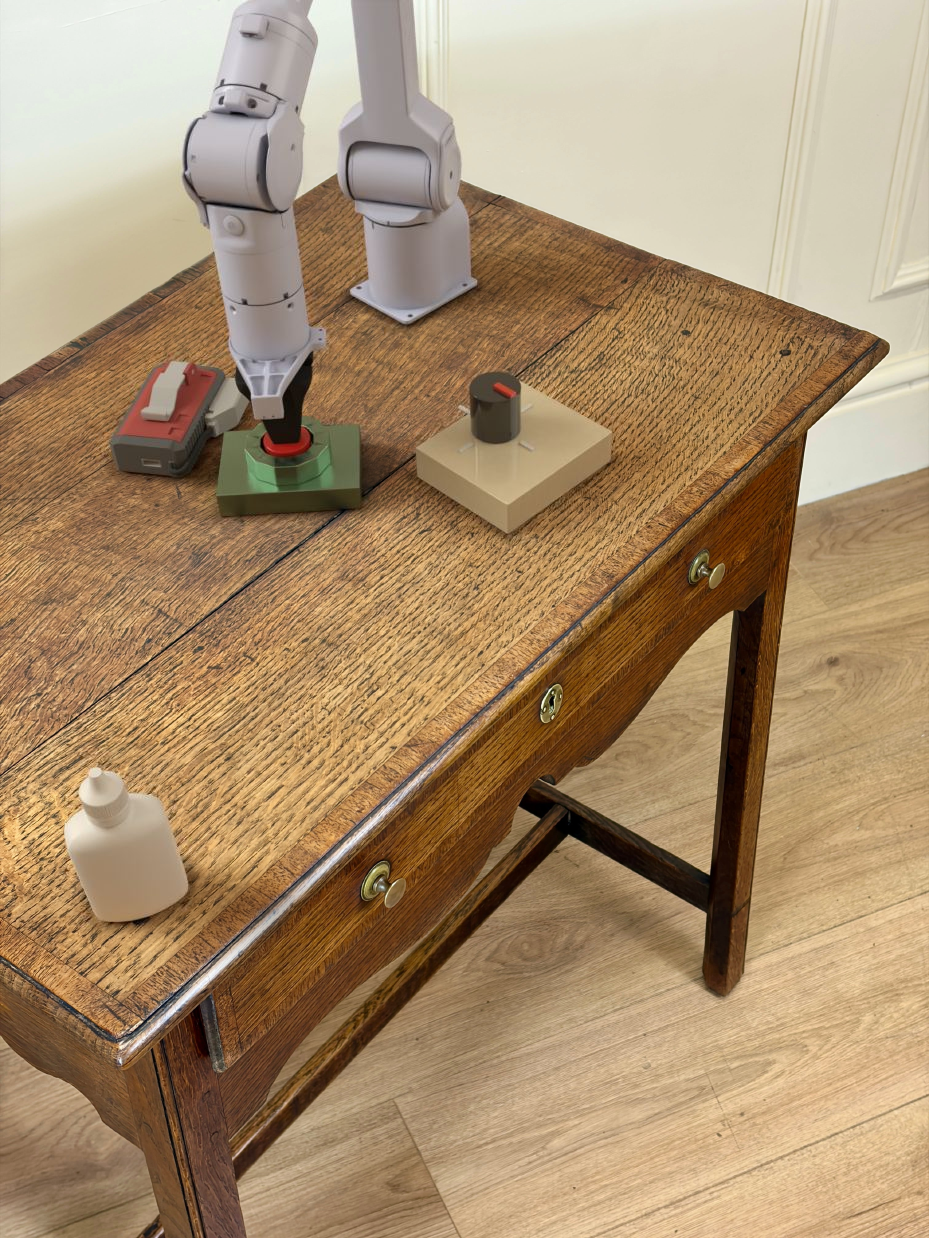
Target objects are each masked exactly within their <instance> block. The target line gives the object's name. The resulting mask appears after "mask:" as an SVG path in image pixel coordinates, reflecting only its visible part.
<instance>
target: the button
mask: <svg viewBox="0 0 929 1238" xmlns="http://www.w3.org/2000/svg"><path fill="white" fill-rule="evenodd" d="M263 441H264V447H265V453H266V454H269V455H272V456H275V457H278V458H281V457H294V456H297V455H299V454H302V453H304V452H306V451H307V450H308V449H309V448H310V447H311V441H310V435H309V432H308V431H307V430H306V429H305V428H304V427H302V426H301V436H300V441H299V443H291V444H273V442H272V441H271V439H270V437H269V435H268V433H266V435H265V436H264V440H263Z"/></svg>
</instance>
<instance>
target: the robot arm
mask: <svg viewBox="0 0 929 1238" xmlns="http://www.w3.org/2000/svg"><path fill="white" fill-rule="evenodd" d="M313 1H314V0H246V1H245V2H242V3H241V4H239V5H238V6H237V7H236V8H235V9H234V11H233V13H232V17H231V21H230V25H229V29H228V33H227V35H226V36H227V37H226V41H225V45H224V49H223V52H222V56H221V59H220V64H219V67H218V71H217V76H216V79H215V83H214V87H213V91H212V95H211V98H210V103H209V105H208V106H209V107H208V110H207V111H205V112H204V113H203V114H201V116H197V117H195V118H194V119H193V120H191V122H190V124H189V125H188V127H187V128H186V132H185V133H184V134H185V135H184V138H183V142H182V149H181V164H182V171H181V173H180V177H181V181H182V185H183V188H184V190H185V193H186V194H187V195H188V197H189V198H190V199H191V200H192V202H194V204H195V206H196V208H197V213H198V218H199V223H200V224H202V226H203V227H205V228H206V229H208V230H209V231H210V236H211V242H212V246H213V252H214V259H215V264H216V269H217V274H218V280H219V284H220V291H221V296H222V302H223V306H224V313H225V316H226V323H227V328H228V334H229V337H228V349H229V353H230V356H231V358H232V359H233V361H234V363H235V365H236V366H235V372H234V373H235V374H234V378H235V382H236V386H237V388H238V390H239V392H240V393H241V394H243V395H244V396H245V397H246V398H247V399H248V400H249V401H250V404H251V405H252V411H253V417H254V420H257V421H258V420H259V421H260V420H261V422H263V424H264V427H265V429H266V431H267V433H268V435H269V437H270V439H271V441H272V442H273V444H291V443H299V441H300V436H301V426H302V416H303V406H304V401H305V398H306V396H307V393H308V391H309V390H310V387H311V384H312V382H313V373H314V370H313V368H314V365H313V364H314V351H322V350H324V349H326V348H327V339H328V338H327V330H326V328H324V327H323V326H317V327H316V326H311V325H309V318H308V310H307V303H306V295H305V288H304V287H305V286H304V280H303V272H302V266H301V259H300V258H301V257H300V250H299V243H298V234H297V228H296V219H295V212H294V205H293V203H294V201H295V200H296V197H297V195H298V192H299V189H300V185H301V182H302V178H303V169H304V150H303V149H304V148H303V147H304V146H303V145H304V138H305V133H306V132H305V127H306V126H305V124H304V122H303V121H302V119H301V112H302V109H303V104H304V100H305V96H306V93H307V88H308V84H309V81H310V76H311V73H312V68H313V64H314V61H315V57H316V53H317V50H318V46H319V37H318V34H317V31H316V29H315V27H314V26H313V24H312V22H311V21H310V19H309V17H308V15H309V13H310V10H311V7H312V4H313ZM350 6H351V16H352V24H353V34H354V45H355V53H356V61H357V63H356V64H357V71H358V81H359V91H360V99H361V100H360V101H358V102H357V103H355V104H354V105H352V106H351V108H349V109H348V111H347V112H346V113H345V115H344V116H343V118H342V120H341V123H340V125H339V128H338V133H337V136H338V154H337V160H336V161H337V164H336V173H337V174H336V175H337V181H338V185H339V188H340V191H341V192H342V194H343V195H344V197H345V198H346V200H348V201H352V202H354V211H355V213H356V214H361V215H362V221H363V232H364V243H365V254H366V265H367V275H368V279H366V280H364V281H362V282H361V283H359V284H357V285H356V286H353V287H351V288H350V290H349V294H350V296H352V297H354V298H356V299H358V300H359V301H361V302H363V303H365V304H367V305H368V306H370V307H372V308H374V309H376V310H377V311H379V312H381V313H383V314H385V315H386V316H389V317H390V318H392V319H393V320H396V321H397V322H399V323H401V324H403V325H410V324H412V323H414V322H415V321H417V320H419V319H421V318H422V317H424V316H427V315H428V314H429V313H431V312H433V311H435V310H437V309H438V308H440V307H442V306H443V305H445V304H448V303H449V302H450V301H452V300H454V299H456V298H458V297H459V296H461V295H462V294H464V293H466V292H468V291H470V290H472V289H473V288H475V287H476V286H477V285H478V280H477V278H475V277H473V276H472V265H471V228H470V226H471V225H470V218H469V215H468V211H467V209H466V206H465V204H464V202H463V200H461V199H462V198H460V197H459V195H458V194H459V190H460V184H461V180H462V154H461V149H460V146H459V145H458V140H457V133H456V126H455V124H454V118H453V116H451V114H449V112H448V111H445V110H444V109H443V108H441V107H440V106H439V105H437V104H436V103H435V102H433V101H432V100H430V99H429V98H428V97H426V96H425V95H424V94H423V93H422V92H421V91H420V90H421V89H420V77H419V63H418V61H419V60H418V49H417V36H416V35H417V33H416V22H415V8H414V6H415V5H414V0H350Z"/></svg>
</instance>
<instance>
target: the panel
mask: <svg viewBox="0 0 929 1238" xmlns="http://www.w3.org/2000/svg"><path fill="white" fill-rule="evenodd" d="M519 381H520V383H521V431H520V433H519V434H518V436H517V437H515V438H514V439H512V440H510V441H508V442H505V443H498V444H493V443H486V442H483V441H480V440H479V439H477V438H476V437H475V436H474V435H473V434H472V432H471V426H470V408H467V407H465V406H464V405H462V404H460V405H458V406H457V410H460V411H461V412H463V413H465V415H464V416H462V417H461V418H459V419H458V420H456V421H455V422H453V423H451V424H450V425H448V426H447V427H446V428H444V429H442V430H441V431H439V432H438V433H435V434H434V435H433V436H431V437H430V438H428V439H426V440H424V441H423V442H421V443H420V444H418V445H417V446H416V447H415V449H414V450H415V462H416V464H415V465H416V476H417V478H418V479H420V480H421V481H423V482H424V483H426V484H428V485H430V486H431V487H432V488H434V489H436V490H437V491H439V492H440V493H442V494H444V495H445V496H447V497H448V498H450V499H452V500H453V501H455V502H456V503H458V504H460V505H461V506H462V507H464V508H466V509H467V510H469V511H470V512H472V513H473V514H475V515H477V516H478V517H480V518H481V519H483V520H484V521H486V522H488V523H489V524H491V525H493V526H494V527H495V528H498V529H499V530H500V531H502V532H504V533H505V534H507V535H509V534H510V533H512V532H513V531H515V530H516V529H518V528H520V526H522V525H523V524H525V523H526V522H527V521H528V520H530V519H531V518H533V517H534V516H536V515H538V513H540V512H541V511H543V510H545V508H547V507H548V506H550V505H552V504H553V503H554V502H555V501H557V500H559V498H561V497H562V496H564V495H565V494H566V493H568V492H570V491H571V490H572V489H574V488H575V487H576V486H577V485H580V483H581V482H583V481H585V480H586V479H588V478H589V477H590V476H592V475H593V474H595V473H596V472H598V471H599V470H600V469H602V468H604V466H605V465H607V464H608V463H610V462H611V458H612V444H613V430H610V429H609V428H607V427H605V426H603V425H602V424H601V423H598V422H597V421H595V420H593V419H590V418H589V417H587V416H585V415H583V414H581V413H580V412H578V411H576V410H574V409H572V408H570V407H569V406H567V405H565V404H563V403H562V402H560V401H557V400H556V399H555V398H552V397H551V396H548V395H547V394H544V393H543V392H541V391H539V390H537V389H536V388H534V387H532V386H531V385H529V384H527V383H525V382H523V381H521V380H519Z"/></svg>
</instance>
